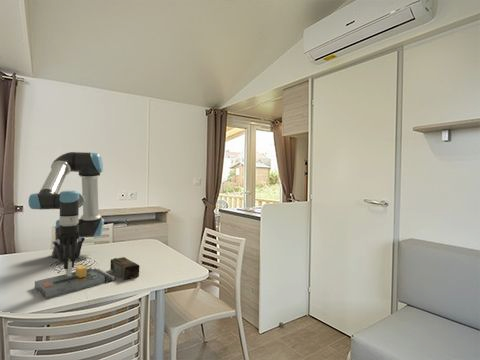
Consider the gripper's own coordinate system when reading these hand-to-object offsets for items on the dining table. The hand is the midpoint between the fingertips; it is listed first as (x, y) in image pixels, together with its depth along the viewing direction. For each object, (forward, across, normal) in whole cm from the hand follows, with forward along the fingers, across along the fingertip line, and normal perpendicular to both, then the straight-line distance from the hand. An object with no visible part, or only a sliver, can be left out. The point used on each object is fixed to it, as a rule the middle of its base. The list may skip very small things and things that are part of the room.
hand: (68, 275), depth 130 cm
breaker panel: (+5, +1, 0) cm, 5 cm away
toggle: (+1, +5, 0) cm, 5 cm away
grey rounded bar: (+5, +15, 0) cm, 16 cm away
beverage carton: (+5, +25, -3) cm, 26 cm away
